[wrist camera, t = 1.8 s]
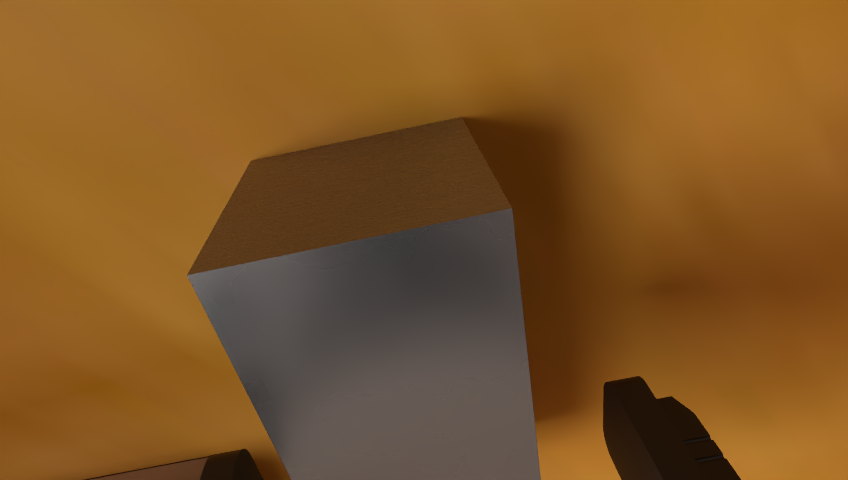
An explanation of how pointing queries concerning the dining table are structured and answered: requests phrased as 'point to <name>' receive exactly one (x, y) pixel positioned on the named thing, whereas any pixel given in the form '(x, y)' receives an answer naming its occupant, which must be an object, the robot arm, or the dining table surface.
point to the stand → (164, 472)
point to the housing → (377, 309)
